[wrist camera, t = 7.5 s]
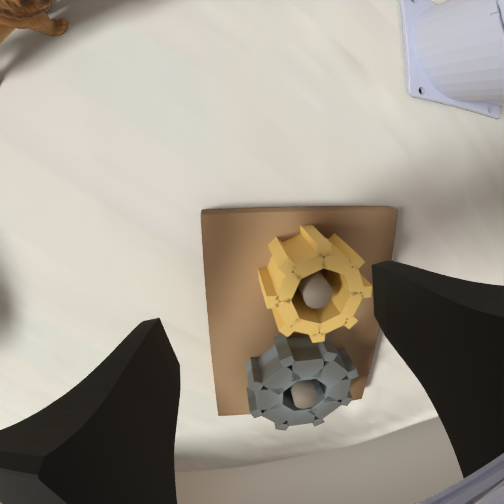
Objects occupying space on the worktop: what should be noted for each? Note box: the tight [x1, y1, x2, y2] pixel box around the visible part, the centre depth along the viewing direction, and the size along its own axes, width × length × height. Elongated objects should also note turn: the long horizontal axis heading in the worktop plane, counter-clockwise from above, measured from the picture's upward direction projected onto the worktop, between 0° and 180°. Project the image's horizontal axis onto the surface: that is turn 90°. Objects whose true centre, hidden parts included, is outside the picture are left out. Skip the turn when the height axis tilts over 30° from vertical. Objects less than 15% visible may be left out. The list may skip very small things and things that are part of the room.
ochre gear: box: [258, 225, 372, 343], centre depth 18 cm, size 6×6×4 cm
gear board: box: [201, 206, 397, 430], centre depth 20 cm, size 12×16×4 cm
